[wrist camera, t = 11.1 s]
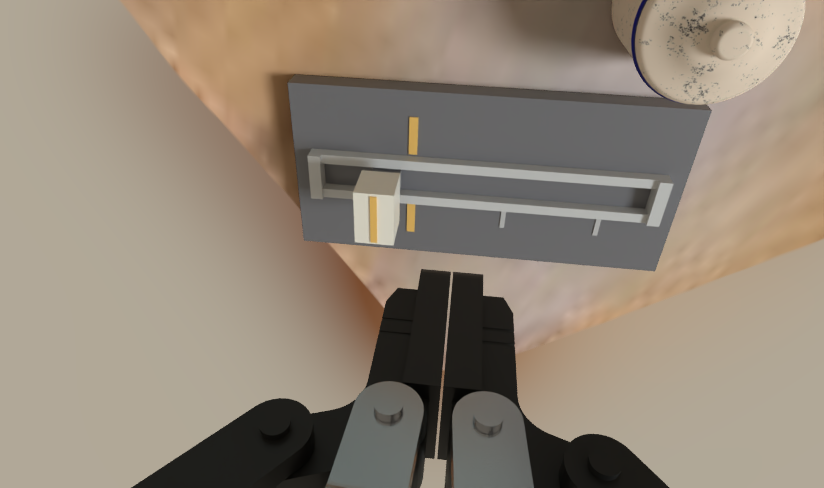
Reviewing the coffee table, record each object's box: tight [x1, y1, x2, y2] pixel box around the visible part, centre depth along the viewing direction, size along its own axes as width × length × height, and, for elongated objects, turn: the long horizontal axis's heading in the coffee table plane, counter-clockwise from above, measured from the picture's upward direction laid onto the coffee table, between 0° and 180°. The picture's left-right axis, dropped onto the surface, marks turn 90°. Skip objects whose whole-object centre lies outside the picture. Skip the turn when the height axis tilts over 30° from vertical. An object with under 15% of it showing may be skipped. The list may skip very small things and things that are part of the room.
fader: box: [353, 167, 401, 246], centre depth 44 cm, size 4×3×7 cm
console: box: [288, 74, 712, 271], centre depth 47 cm, size 15×32×3 cm, turn 88°
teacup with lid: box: [611, 0, 805, 105], centre depth 34 cm, size 12×9×12 cm
